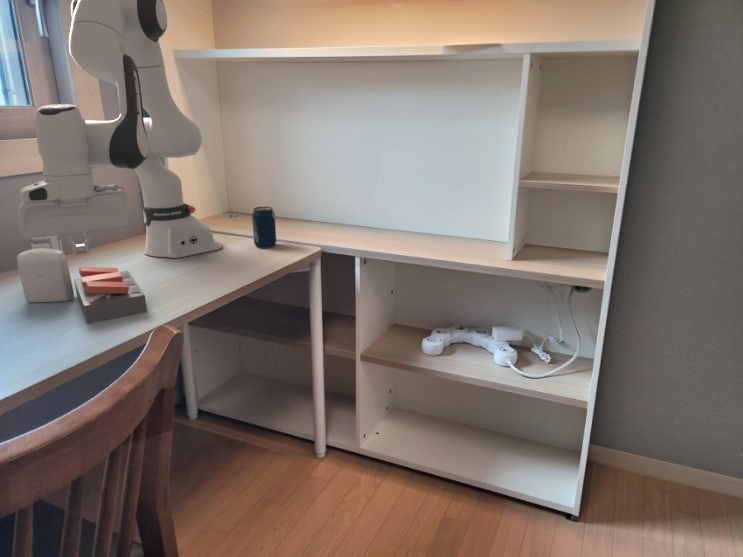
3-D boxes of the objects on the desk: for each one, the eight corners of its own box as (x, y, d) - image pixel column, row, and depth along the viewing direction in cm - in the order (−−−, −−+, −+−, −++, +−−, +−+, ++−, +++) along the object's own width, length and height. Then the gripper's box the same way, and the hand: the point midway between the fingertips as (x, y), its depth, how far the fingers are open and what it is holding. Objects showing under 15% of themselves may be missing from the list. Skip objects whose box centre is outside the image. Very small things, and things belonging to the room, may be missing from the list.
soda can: (279, 243, 175) (278, 206, 171) (270, 249, 168) (268, 211, 164) (260, 242, 176) (257, 205, 172) (250, 248, 170) (247, 210, 166)
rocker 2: (119, 277, 127) (119, 271, 127) (122, 281, 124) (121, 275, 124) (81, 283, 123) (80, 277, 123) (83, 288, 120) (82, 282, 120)
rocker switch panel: (130, 285, 137) (127, 268, 135) (147, 311, 121) (144, 292, 119) (76, 294, 131) (73, 276, 129) (87, 323, 115) (83, 303, 113)
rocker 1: (116, 273, 132) (116, 268, 132) (119, 277, 129) (119, 272, 129) (79, 272, 128) (79, 266, 127) (81, 276, 125) (81, 271, 124)
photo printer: (22, 304, 125) (11, 252, 121) (32, 297, 129) (21, 246, 125) (69, 302, 126) (59, 251, 122) (77, 296, 130) (68, 246, 126)
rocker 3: (125, 288, 123) (125, 282, 122) (128, 293, 120) (128, 287, 119) (85, 287, 118) (85, 281, 118) (87, 292, 115) (88, 286, 115)
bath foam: (55, 273, 146) (41, 199, 139) (74, 276, 143) (60, 201, 136) (31, 281, 140) (14, 204, 133) (49, 285, 137) (34, 206, 130)
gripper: (122, 182, 119) (131, 243, 123) (12, 189, 109) (25, 256, 113) (127, 186, 114) (136, 249, 118) (12, 194, 103) (26, 263, 108)
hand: (81, 253), depth 115 cm, fingers closed
